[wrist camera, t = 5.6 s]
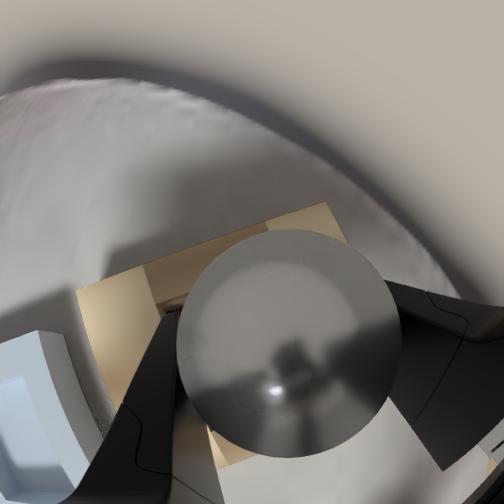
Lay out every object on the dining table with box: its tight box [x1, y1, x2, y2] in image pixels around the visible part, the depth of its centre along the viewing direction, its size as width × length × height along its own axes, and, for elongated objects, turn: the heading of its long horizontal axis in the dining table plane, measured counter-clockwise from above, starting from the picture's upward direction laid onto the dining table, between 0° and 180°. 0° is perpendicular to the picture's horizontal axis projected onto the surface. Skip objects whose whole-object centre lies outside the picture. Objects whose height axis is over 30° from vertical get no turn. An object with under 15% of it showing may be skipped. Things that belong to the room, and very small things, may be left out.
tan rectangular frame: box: [76, 201, 349, 470], centre depth 14 cm, size 10×14×3 cm
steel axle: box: [176, 229, 402, 458], centre depth 9 cm, size 4×4×10 cm
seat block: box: [0, 330, 104, 504], centre depth 9 cm, size 12×12×3 cm
